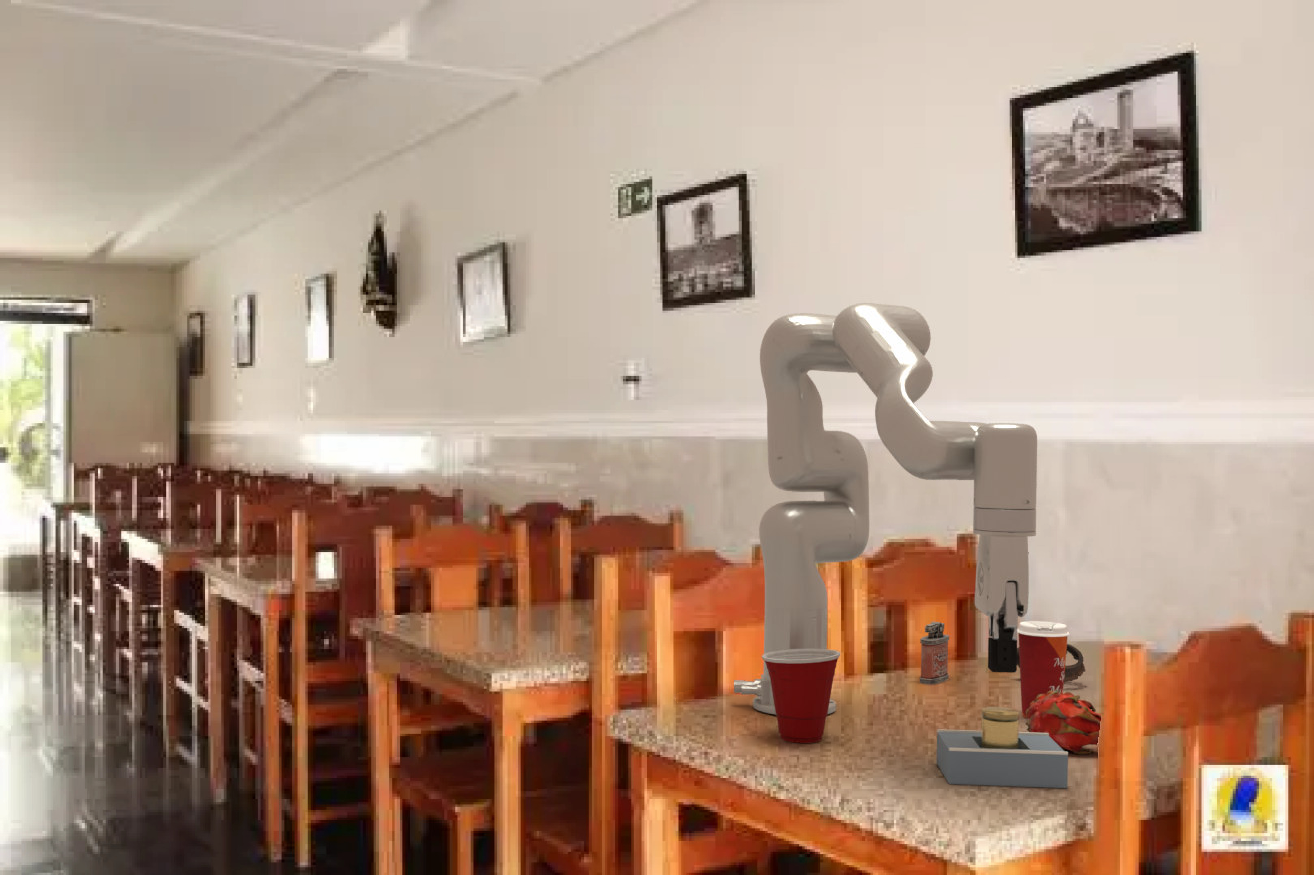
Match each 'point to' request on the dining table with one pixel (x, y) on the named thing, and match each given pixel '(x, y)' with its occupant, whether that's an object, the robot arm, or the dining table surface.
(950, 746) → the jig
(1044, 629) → the paper cup
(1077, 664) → the pottery mug
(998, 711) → the brass flanged cylinder
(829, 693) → the plastic cup
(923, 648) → the lighter
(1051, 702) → the dragon fruit
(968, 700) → the dining table surface
